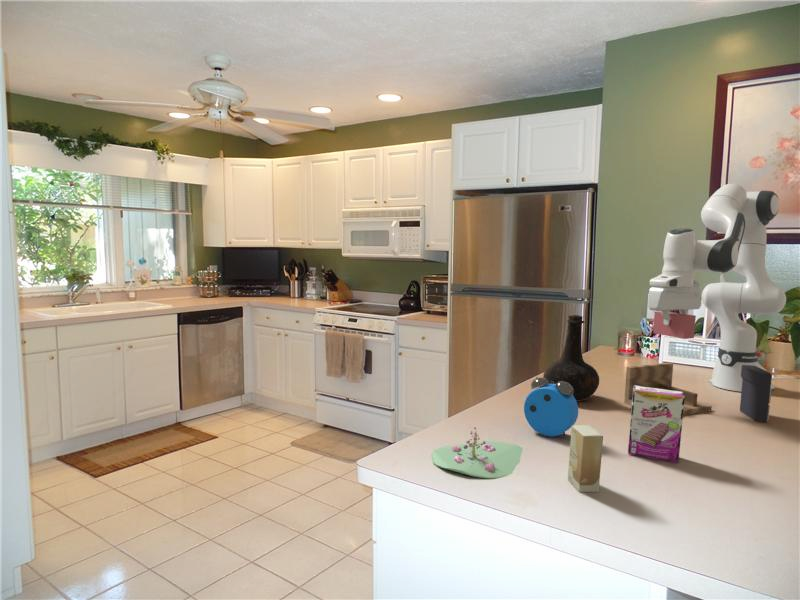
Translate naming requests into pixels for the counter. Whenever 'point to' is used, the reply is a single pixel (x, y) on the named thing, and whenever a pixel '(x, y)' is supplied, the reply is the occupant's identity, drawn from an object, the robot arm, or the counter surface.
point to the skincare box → (585, 458)
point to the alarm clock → (551, 407)
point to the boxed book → (675, 325)
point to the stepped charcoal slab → (755, 393)
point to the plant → (479, 458)
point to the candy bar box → (656, 423)
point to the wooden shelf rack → (660, 385)
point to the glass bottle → (574, 364)
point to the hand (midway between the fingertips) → (673, 324)
